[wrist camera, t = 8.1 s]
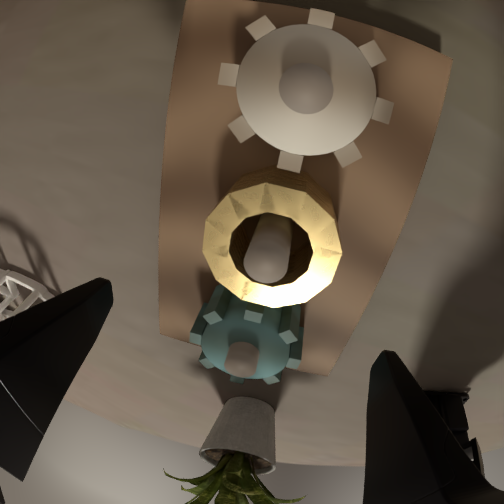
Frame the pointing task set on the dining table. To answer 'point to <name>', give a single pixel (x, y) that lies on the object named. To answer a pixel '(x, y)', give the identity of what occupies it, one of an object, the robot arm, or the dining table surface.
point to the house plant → (238, 455)
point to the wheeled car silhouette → (13, 292)
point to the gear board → (289, 158)
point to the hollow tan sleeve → (282, 203)
